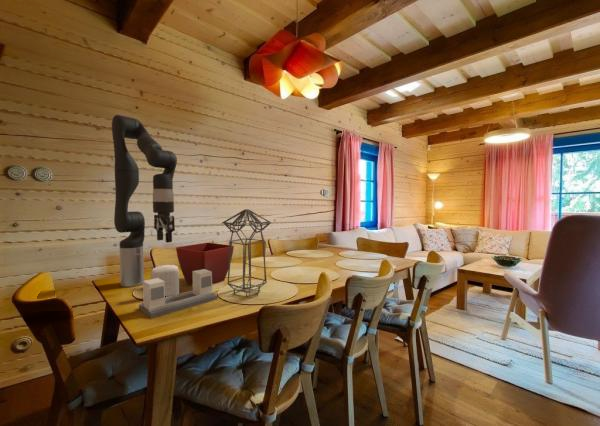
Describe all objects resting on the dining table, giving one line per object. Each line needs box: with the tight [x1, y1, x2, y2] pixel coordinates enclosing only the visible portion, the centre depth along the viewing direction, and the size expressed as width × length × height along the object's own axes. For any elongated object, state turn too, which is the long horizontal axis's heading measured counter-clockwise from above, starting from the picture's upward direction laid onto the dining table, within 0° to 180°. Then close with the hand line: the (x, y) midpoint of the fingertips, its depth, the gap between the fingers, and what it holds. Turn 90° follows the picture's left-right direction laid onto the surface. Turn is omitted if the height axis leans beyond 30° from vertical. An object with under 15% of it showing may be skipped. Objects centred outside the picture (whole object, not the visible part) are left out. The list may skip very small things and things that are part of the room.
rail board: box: [138, 290, 218, 319], centre depth 105 cm, size 12×24×2 cm, turn 137°
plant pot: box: [175, 242, 235, 285], centre depth 133 cm, size 19×19×17 cm
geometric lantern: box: [220, 208, 272, 298], centre depth 115 cm, size 16×16×35 cm
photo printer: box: [150, 264, 180, 297], centre depth 113 cm, size 10×4×12 cm, turn 123°
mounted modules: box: [142, 269, 213, 309], centre depth 104 cm, size 6×23×9 cm, turn 137°
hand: (164, 241), depth 112 cm, fingers open, 8 cm apart
